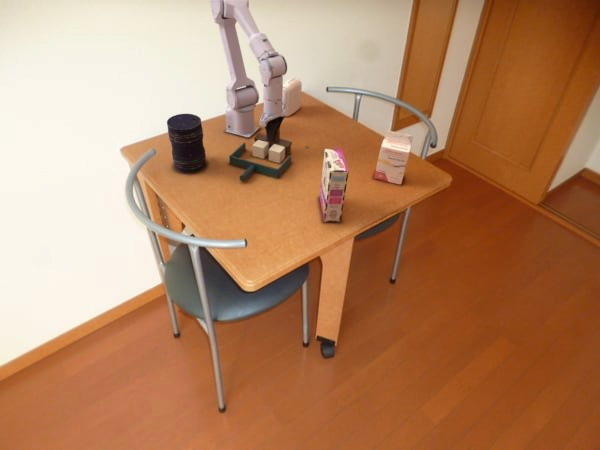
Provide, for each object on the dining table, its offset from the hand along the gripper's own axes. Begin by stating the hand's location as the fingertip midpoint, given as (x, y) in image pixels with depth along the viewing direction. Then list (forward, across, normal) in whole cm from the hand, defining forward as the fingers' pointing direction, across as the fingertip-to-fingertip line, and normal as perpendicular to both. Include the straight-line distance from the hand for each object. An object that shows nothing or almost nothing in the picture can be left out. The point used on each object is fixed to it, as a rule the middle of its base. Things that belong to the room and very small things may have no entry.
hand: (272, 137), depth 135 cm
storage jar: (+5, -19, +19) cm, 28 cm away
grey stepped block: (+4, 0, 0) cm, 4 cm away
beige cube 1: (+5, -4, +3) cm, 7 cm away
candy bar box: (+5, -20, -28) cm, 35 cm away
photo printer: (+5, +30, +7) cm, 31 cm away
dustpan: (+5, -12, 0) cm, 13 cm away
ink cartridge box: (+5, +2, -39) cm, 39 cm away
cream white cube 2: (+5, -4, -3) cm, 7 cm away
